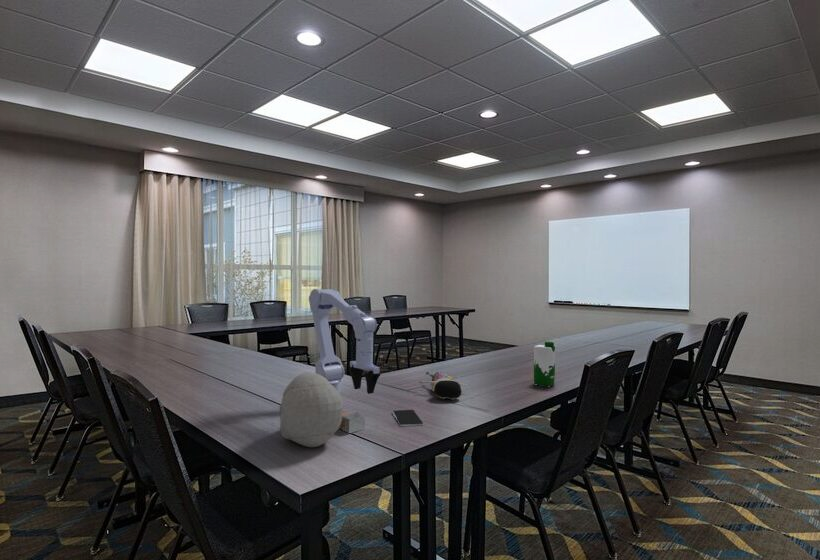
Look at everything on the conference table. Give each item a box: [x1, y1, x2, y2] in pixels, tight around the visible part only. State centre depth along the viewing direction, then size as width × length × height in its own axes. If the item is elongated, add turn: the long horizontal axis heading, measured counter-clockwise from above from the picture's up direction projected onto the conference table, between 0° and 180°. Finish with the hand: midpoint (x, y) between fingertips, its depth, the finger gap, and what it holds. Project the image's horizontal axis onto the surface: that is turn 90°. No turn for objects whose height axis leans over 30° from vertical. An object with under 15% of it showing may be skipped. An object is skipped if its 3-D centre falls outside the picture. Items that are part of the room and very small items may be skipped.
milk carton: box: [533, 341, 557, 387], centre depth 201 cm, size 9×9×20 cm
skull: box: [279, 371, 344, 448], centre depth 130 cm, size 17×27×20 cm, turn 29°
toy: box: [418, 371, 473, 401], centre depth 185 cm, size 23×9×30 cm
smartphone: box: [391, 409, 424, 427], centre depth 149 cm, size 8×1×15 cm
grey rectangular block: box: [341, 412, 366, 434], centre depth 138 cm, size 4×6×4 cm, turn 133°
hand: (363, 390), depth 150 cm, fingers open, 7 cm apart
